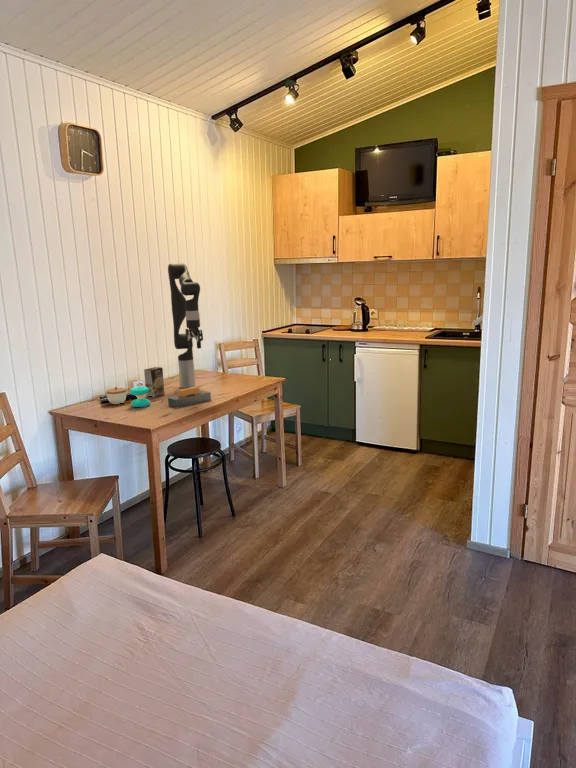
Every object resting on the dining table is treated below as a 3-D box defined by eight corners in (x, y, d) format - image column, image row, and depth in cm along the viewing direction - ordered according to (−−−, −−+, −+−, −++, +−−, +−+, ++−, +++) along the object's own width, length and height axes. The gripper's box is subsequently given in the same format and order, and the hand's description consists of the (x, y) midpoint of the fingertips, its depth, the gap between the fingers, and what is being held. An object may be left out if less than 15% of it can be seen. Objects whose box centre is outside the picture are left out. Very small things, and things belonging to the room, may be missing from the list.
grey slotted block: (168, 405, 290) (167, 397, 289) (203, 398, 304) (202, 390, 303) (176, 408, 284) (175, 399, 283) (211, 400, 298) (210, 392, 297)
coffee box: (154, 397, 311) (151, 370, 308) (146, 396, 314) (143, 369, 311) (165, 394, 319) (162, 367, 315) (156, 393, 322) (154, 366, 318)
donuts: (134, 390, 283) (126, 388, 291) (136, 409, 285) (128, 406, 293) (152, 387, 290) (143, 385, 297) (153, 405, 292) (144, 402, 299)
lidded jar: (111, 401, 305) (109, 385, 303) (129, 400, 305) (128, 384, 303) (104, 406, 295) (102, 389, 293) (124, 405, 295) (122, 388, 293)
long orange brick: (179, 403, 292) (178, 389, 290) (196, 399, 299) (195, 386, 297) (182, 404, 289) (181, 390, 288) (200, 400, 296) (199, 387, 295)
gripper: (180, 319, 303) (182, 347, 306) (193, 320, 292) (196, 349, 296) (191, 317, 308) (193, 346, 311) (205, 318, 297) (207, 347, 301)
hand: (195, 347), depth 303 cm, fingers open, 8 cm apart
